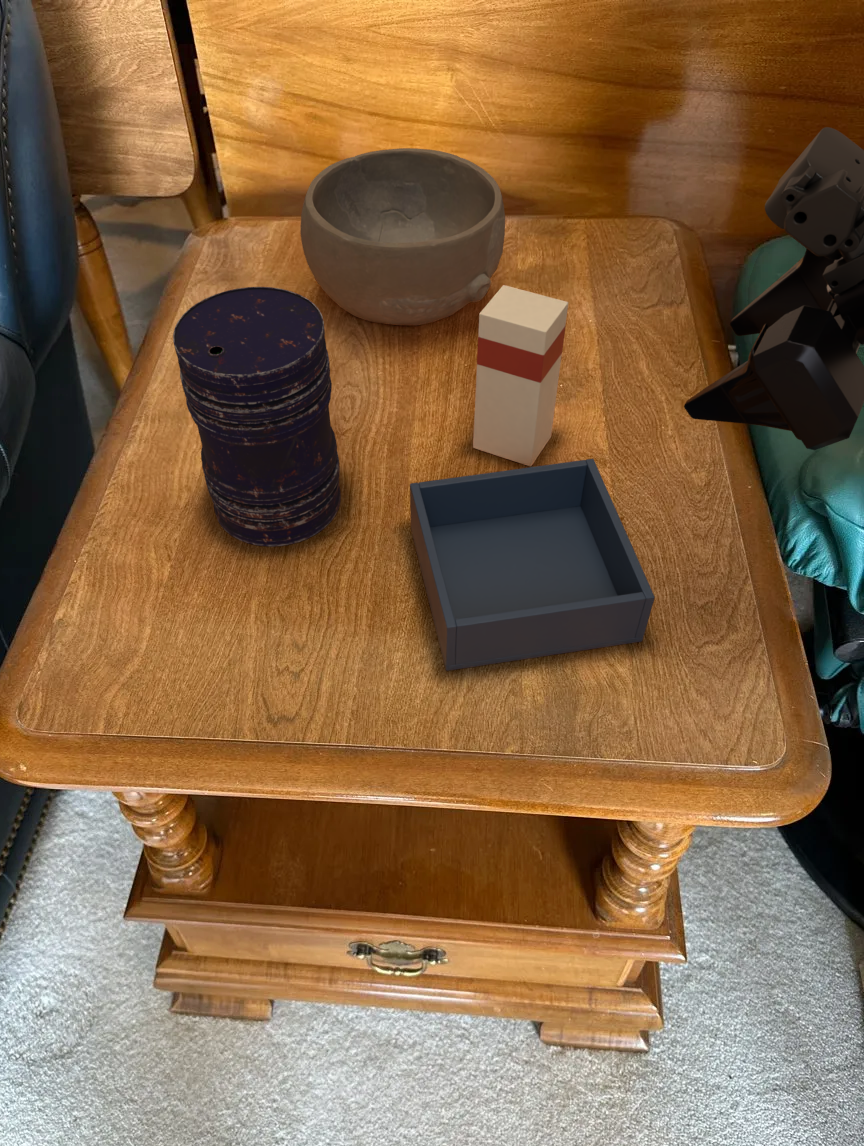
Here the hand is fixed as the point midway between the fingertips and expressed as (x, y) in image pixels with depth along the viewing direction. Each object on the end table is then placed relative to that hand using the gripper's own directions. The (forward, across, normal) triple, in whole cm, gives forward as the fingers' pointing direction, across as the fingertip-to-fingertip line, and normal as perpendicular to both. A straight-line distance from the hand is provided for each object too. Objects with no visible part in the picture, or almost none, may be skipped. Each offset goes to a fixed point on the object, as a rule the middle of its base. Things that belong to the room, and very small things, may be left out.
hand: (711, 368), depth 59 cm
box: (+15, +10, +4) cm, 18 cm away
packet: (+19, -3, 0) cm, 20 cm away
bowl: (+32, -18, -12) cm, 38 cm away
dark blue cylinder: (+29, +11, -9) cm, 32 cm away
